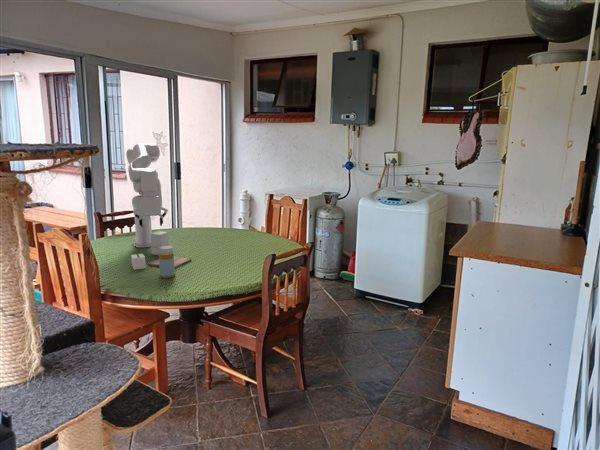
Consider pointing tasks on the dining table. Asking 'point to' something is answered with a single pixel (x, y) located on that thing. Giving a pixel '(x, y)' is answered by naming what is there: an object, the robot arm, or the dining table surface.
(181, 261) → the brown rectangular plate
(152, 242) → the supplement box
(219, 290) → the dining table surface
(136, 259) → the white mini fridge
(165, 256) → the bottle
